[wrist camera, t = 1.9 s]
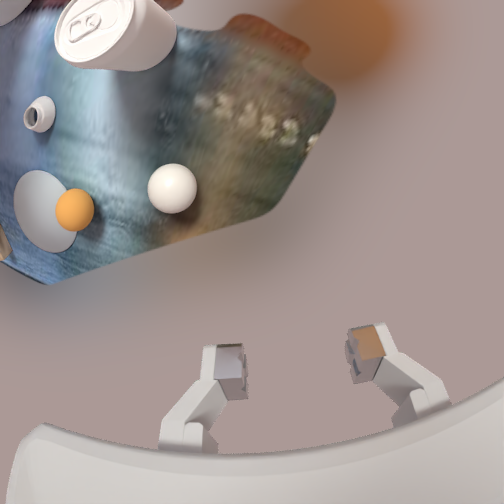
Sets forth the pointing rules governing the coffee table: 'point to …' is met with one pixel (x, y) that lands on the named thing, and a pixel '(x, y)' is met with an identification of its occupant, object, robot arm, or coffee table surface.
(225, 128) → the coffee table surface
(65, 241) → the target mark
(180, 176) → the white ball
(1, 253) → the wall
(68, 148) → the coffee table surface
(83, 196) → the orange ball
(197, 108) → the coffee table surface
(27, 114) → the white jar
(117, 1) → the beverage can
